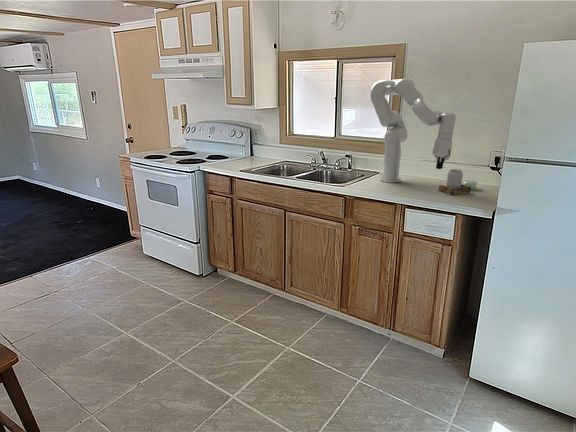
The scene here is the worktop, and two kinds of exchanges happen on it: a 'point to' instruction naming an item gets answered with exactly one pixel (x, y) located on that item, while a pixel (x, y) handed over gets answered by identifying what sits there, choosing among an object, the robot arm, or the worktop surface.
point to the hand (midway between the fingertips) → (439, 168)
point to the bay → (455, 190)
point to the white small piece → (470, 184)
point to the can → (454, 178)
